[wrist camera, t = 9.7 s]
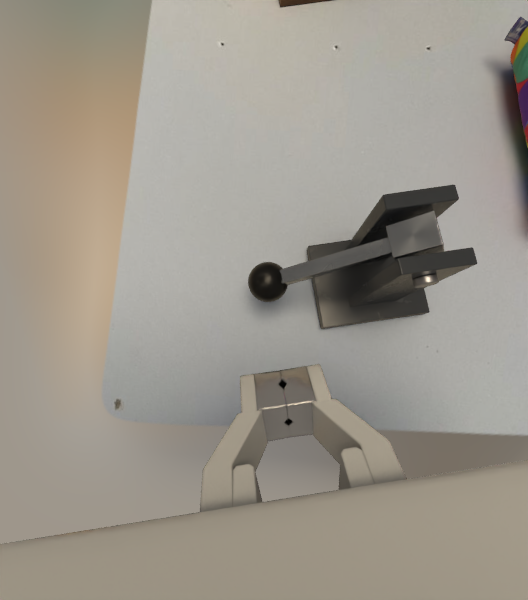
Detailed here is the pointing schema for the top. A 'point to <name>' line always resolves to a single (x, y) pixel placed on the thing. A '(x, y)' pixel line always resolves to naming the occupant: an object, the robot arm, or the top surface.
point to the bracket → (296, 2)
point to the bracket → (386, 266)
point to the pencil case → (520, 66)
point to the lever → (351, 256)
